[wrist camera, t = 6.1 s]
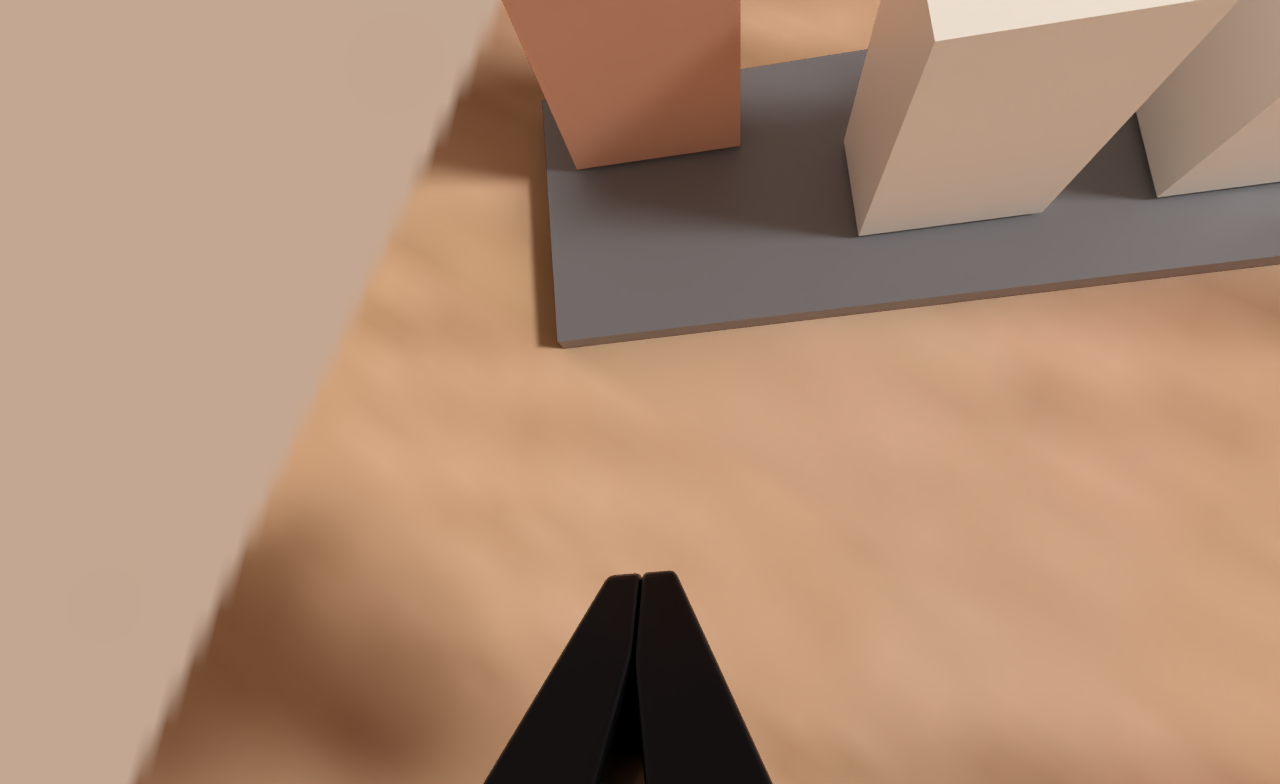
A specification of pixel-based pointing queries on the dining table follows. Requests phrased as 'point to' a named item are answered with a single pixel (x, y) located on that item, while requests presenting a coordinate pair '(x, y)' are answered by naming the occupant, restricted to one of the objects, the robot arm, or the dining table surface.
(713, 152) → the keyboard deck
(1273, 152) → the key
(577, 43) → the terracotta key
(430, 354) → the dining table surface
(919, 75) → the middle key
